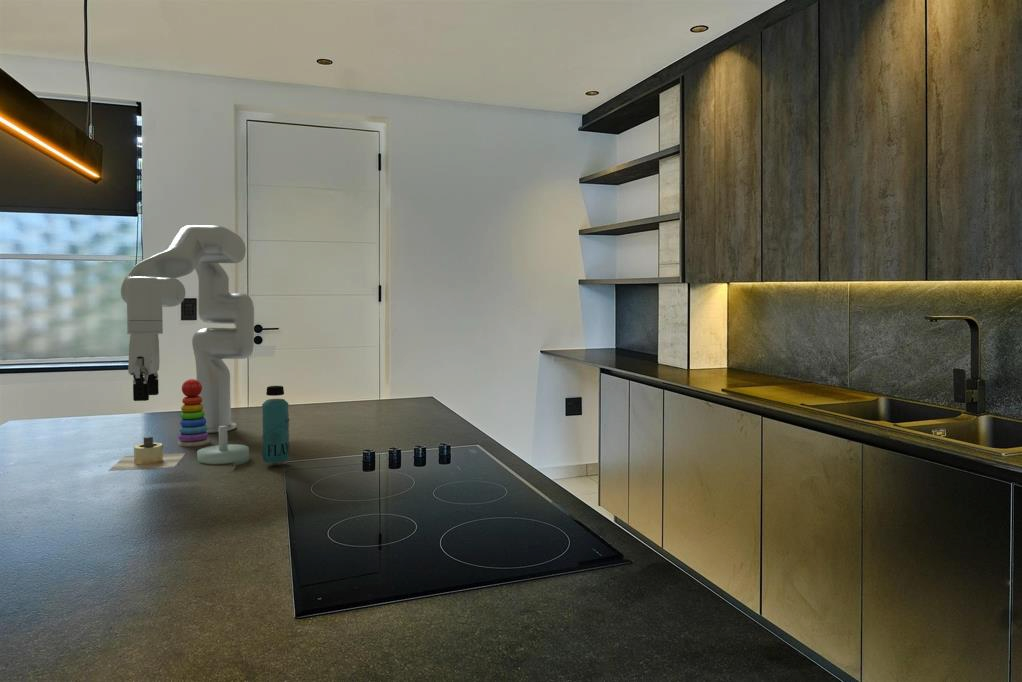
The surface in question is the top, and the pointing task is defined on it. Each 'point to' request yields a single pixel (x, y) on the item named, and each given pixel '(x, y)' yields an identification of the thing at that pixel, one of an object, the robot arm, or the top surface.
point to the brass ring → (148, 454)
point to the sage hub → (223, 451)
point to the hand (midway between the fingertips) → (146, 397)
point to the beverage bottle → (275, 427)
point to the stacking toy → (192, 416)
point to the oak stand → (129, 464)
